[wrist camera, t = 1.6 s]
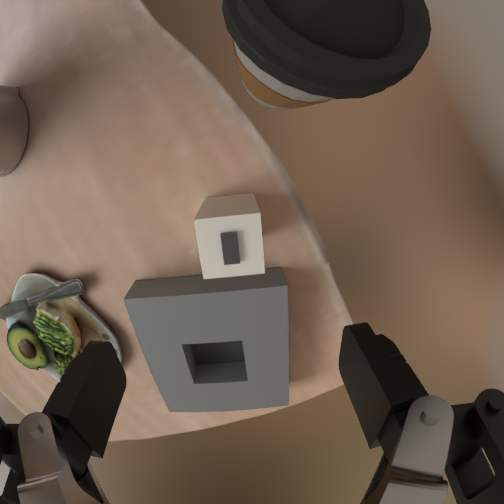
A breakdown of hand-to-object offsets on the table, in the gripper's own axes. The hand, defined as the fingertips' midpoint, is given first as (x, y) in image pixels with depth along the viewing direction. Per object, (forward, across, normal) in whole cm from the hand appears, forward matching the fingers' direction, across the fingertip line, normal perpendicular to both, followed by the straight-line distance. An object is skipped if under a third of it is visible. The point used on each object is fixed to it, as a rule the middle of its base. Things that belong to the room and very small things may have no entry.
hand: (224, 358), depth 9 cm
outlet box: (+16, +3, +12) cm, 21 cm away
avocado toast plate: (+17, +24, +12) cm, 31 cm away
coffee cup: (+16, -5, -13) cm, 21 cm away
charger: (+16, 0, 0) cm, 16 cm away
